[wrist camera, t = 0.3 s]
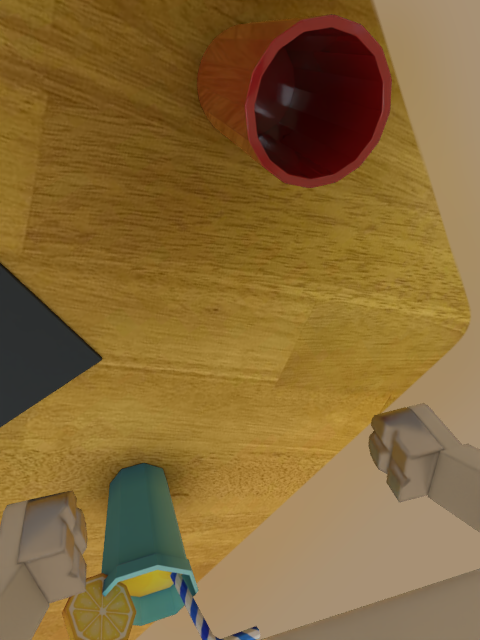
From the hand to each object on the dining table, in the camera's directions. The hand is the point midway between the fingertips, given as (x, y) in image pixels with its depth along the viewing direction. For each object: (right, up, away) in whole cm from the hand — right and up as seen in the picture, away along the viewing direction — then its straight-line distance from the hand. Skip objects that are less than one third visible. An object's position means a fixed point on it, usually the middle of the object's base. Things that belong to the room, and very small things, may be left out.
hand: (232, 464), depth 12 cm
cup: (-8, -11, +31) cm, 34 cm away
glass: (+1, +18, +15) cm, 23 cm away
